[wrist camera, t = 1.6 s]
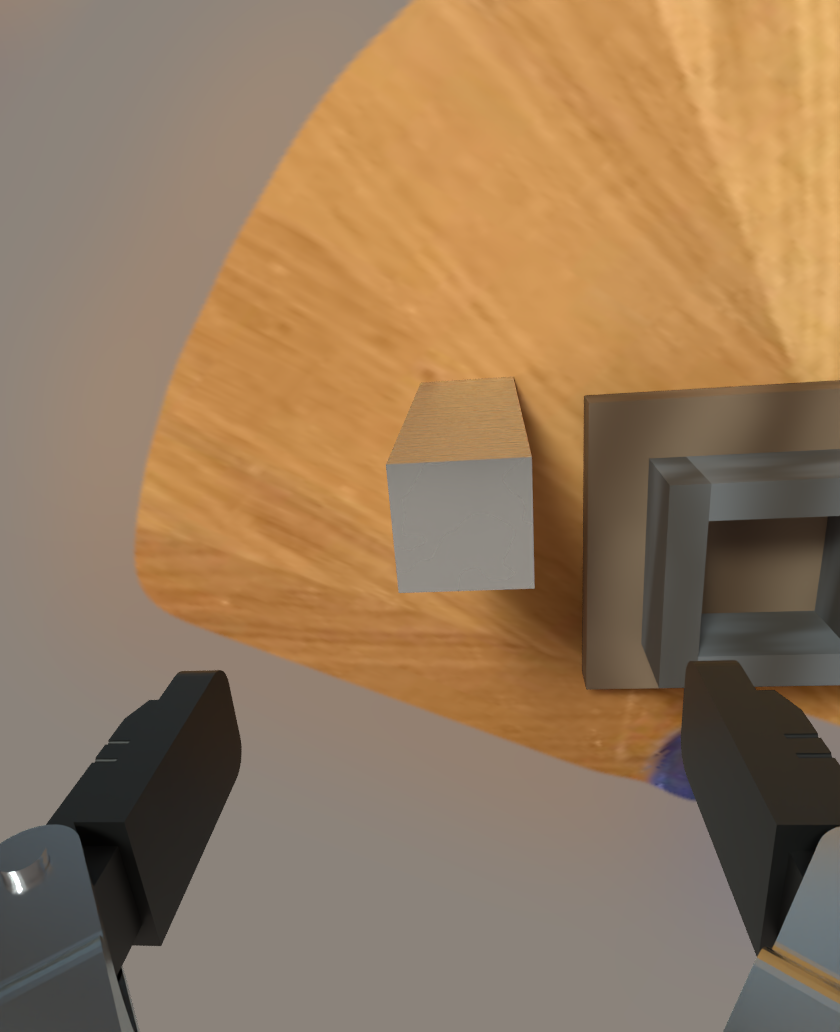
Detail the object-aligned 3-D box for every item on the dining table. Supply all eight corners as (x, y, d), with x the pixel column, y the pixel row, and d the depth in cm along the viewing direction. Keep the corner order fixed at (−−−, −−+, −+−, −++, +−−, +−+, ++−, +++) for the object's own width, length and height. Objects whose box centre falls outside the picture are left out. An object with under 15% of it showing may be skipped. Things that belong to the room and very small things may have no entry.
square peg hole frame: (931, 374, 29) (1018, 400, 24) (877, 665, 34) (940, 734, 29) (584, 395, 30) (602, 424, 25) (581, 671, 35) (597, 737, 30)
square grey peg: (513, 376, 30) (531, 456, 19) (515, 465, 31) (534, 588, 20) (420, 382, 30) (386, 464, 19) (427, 470, 32) (398, 592, 21)
